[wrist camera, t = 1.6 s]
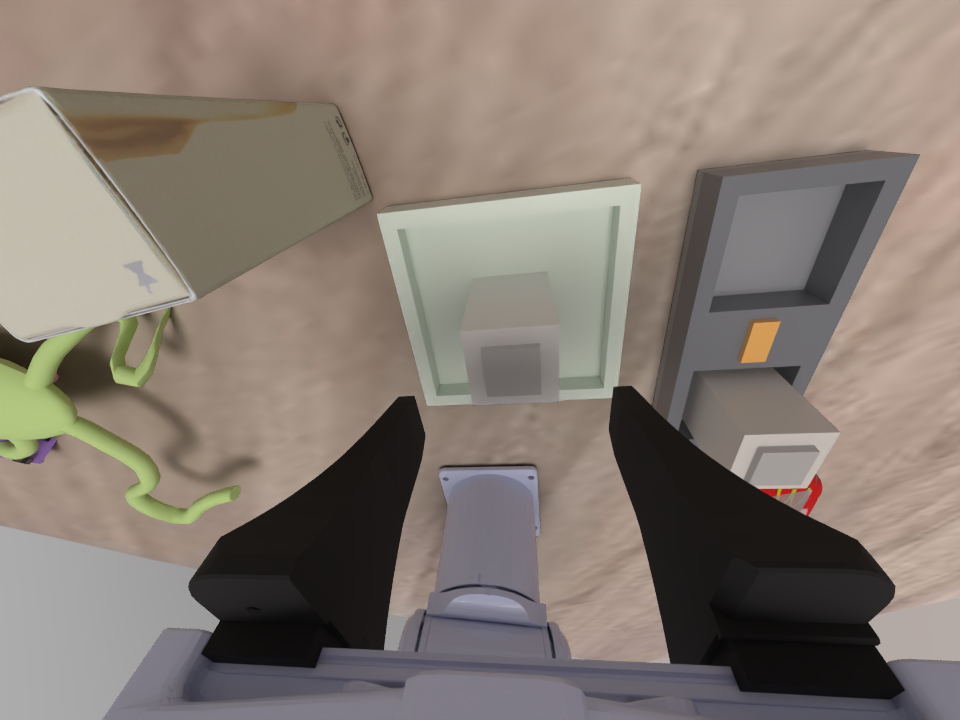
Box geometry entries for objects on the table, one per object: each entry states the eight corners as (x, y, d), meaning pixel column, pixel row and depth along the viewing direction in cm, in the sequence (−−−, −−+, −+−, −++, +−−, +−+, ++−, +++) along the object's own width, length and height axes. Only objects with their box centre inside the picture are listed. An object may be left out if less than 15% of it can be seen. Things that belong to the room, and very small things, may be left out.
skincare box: (337, 100, 16) (41, 66, 6) (376, 201, 18) (210, 300, 8) (220, 142, 17) (-187, 173, 7) (270, 232, 20) (14, 350, 10)
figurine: (272, 484, 33) (233, 543, 29) (-21, 437, 33) (-109, 490, 28) (224, 309, 23) (152, 356, 18) (-206, 233, 22) (-394, 263, 18)
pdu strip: (756, 419, 24) (781, 449, 22) (648, 423, 25) (662, 452, 23) (868, 150, 16) (927, 155, 13) (697, 169, 17) (726, 178, 14)
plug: (547, 336, 21) (560, 407, 16) (481, 340, 22) (471, 411, 16) (546, 271, 19) (560, 329, 14) (473, 278, 20) (458, 336, 14)
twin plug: (743, 409, 23) (812, 495, 18) (678, 412, 24) (726, 495, 18) (763, 358, 21) (847, 438, 16) (690, 362, 22) (749, 441, 16)
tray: (609, 380, 23) (616, 397, 22) (432, 388, 25) (426, 405, 23) (630, 178, 17) (641, 183, 15) (387, 206, 18) (376, 213, 17)
